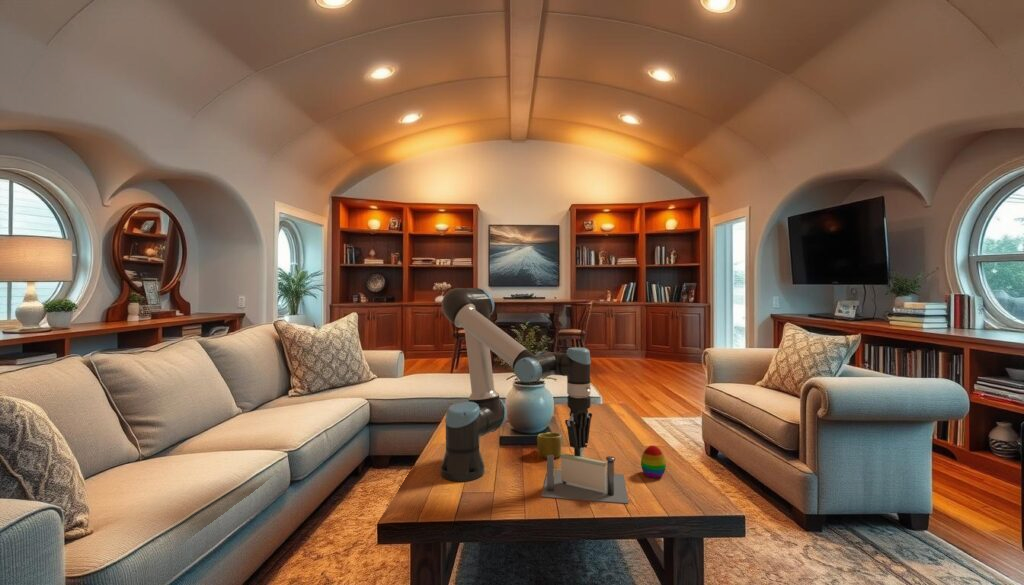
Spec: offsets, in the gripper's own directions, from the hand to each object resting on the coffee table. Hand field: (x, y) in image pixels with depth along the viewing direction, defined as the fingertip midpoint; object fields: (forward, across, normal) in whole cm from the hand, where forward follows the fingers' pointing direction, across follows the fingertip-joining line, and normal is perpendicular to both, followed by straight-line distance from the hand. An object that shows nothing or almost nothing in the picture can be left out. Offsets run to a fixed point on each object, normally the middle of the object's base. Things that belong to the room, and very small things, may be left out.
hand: (579, 466), depth 152 cm
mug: (+6, +16, +24) cm, 29 cm away
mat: (+6, 0, -2) cm, 6 cm away
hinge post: (+6, -1, -12) cm, 13 cm away
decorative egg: (+6, +23, -15) cm, 28 cm away
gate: (+5, -3, -3) cm, 6 cm away
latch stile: (+5, -11, +4) cm, 13 cm away
